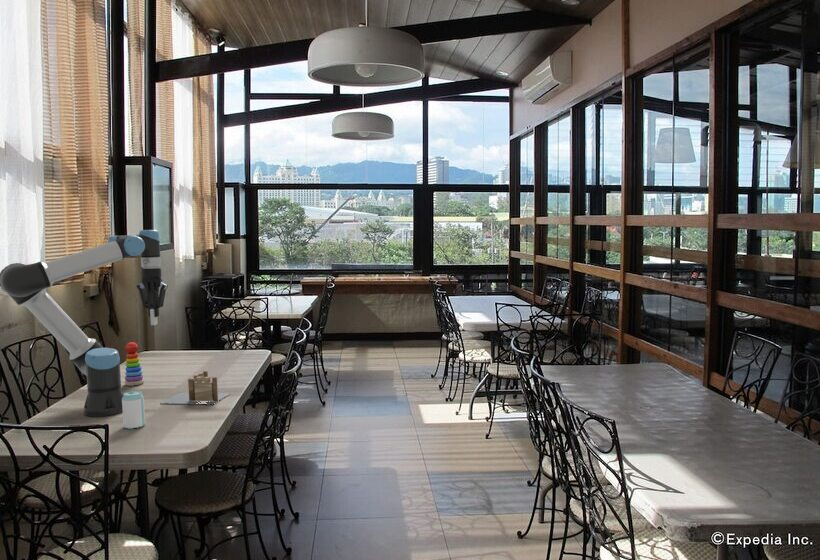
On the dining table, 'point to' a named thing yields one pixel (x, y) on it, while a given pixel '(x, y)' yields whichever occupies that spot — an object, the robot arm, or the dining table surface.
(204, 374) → the hinged fence panel
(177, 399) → the card
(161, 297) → the robot arm
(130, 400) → the can
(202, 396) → the fixed fence section
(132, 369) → the stacking toy
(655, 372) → the dining table surface
